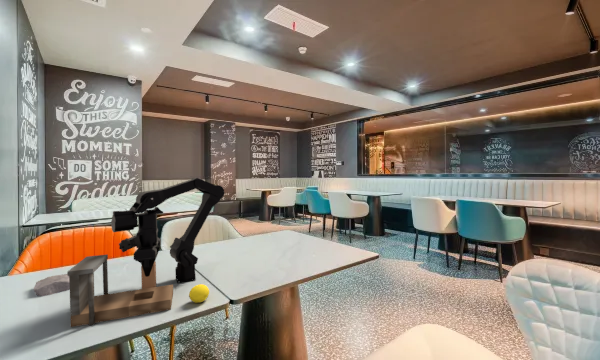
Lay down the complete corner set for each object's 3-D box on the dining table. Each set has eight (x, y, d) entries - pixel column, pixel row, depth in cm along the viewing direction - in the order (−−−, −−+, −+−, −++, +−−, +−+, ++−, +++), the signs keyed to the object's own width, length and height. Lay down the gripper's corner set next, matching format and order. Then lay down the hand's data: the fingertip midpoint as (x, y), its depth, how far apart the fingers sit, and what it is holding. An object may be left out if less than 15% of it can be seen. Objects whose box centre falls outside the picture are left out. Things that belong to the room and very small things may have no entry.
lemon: (202, 297, 90) (204, 280, 91) (212, 301, 87) (214, 284, 87) (183, 302, 84) (184, 284, 85) (193, 307, 81) (195, 289, 82)
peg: (156, 286, 98) (155, 261, 98) (155, 290, 95) (154, 264, 94) (143, 288, 97) (143, 262, 97) (141, 292, 93) (141, 266, 93)
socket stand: (173, 291, 93) (172, 247, 93) (170, 311, 80) (169, 259, 80) (88, 305, 84) (86, 256, 84) (68, 329, 71) (67, 271, 71)
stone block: (38, 303, 90) (76, 288, 97) (33, 290, 89) (72, 275, 97) (35, 294, 98) (70, 280, 105) (31, 282, 97) (67, 269, 105)
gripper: (126, 225, 101) (128, 266, 101) (113, 235, 84) (115, 285, 84) (160, 222, 105) (161, 262, 106) (154, 232, 88) (156, 280, 88)
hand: (149, 271), depth 96 cm, fingers open, 9 cm apart
